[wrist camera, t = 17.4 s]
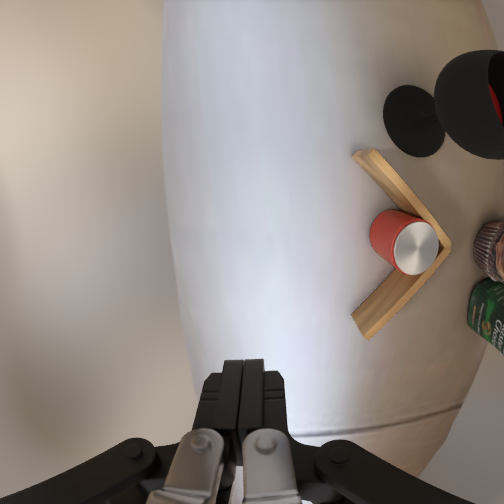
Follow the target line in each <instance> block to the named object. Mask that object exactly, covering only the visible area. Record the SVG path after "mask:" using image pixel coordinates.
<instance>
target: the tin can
mask: <svg viewBox="0 0 504 504" xmlns="http://www.w3.org/2000/svg"><path fill="white" fill-rule="evenodd" d="M370 242H371V245H372V247H373V249H374V250H375V251H376V252H377V253H378V254H379V255H380V256H381V257H383V258H384V259H385V260H386V261H388V262H389V263H390V264H391V265H392V266H394V267H395V268H396V269H397V270H399V271H400V272H401V273H403V274H406V275H417V274H420V273H422V272H424V271H426V270H427V269H428V268H429V267H430V266H431V265H432V264H433V262H434V260H435V258H436V256H437V253H438V248H439V241H438V236H437V233H436V231H435V229H434V228H433V226H432V225H431V224H430V223H429V222H427V221H425V220H423V219H420V218H417V217H415V216H412V215H409V214H407V213H404V212H401V211H398V210H386V211H384V212H382V213H381V214H379V215H378V216H377V217H376V219H375V220H374V222H373V223H372V226H371V229H370Z"/></svg>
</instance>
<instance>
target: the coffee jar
mask: <svg viewBox="0 0 504 504" xmlns="http://www.w3.org/2000/svg"><path fill="white" fill-rule="evenodd" d="M468 324H469V326H470V327H471V328H472V329H473V330H474V331H475V332H476V333H477V334H479V335H480V336H482V337H483V338H484V339H486V340H487V341H488V342H490V343H491V344H492V345H493V346H494V347H496V348H497V349H498V350H499V351H500V352H501V353H502V354H503V355H504V284H503V283H502V282H499V281H498V282H497V281H494V280H492V279H491V278H489V279H486V280H484V281H482V282H480V283H479V284H478V285H477V286H476V287H475V288H474V290H473V292H472V295H471V299H470V305H469V312H468Z"/></svg>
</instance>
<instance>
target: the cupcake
mask: <svg viewBox="0 0 504 504" xmlns="http://www.w3.org/2000/svg"><path fill="white" fill-rule="evenodd" d="M474 258H475V260H476V262H477V264H478V265H479V266H480V267H481V268H482V269H483V270H484V271H485V272H486V273H487V274H488V275H489V276H490V278H491V279H492V280H494V281H497V282H498V281H499V282H500V281H501V282H503V280H504V222H488V223H486V224H484V225H483V227H482V228H481V229H480V230H479V232H478V233H477V236H476V239H475V242H474Z"/></svg>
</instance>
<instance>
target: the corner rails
mask: <svg viewBox="0 0 504 504" xmlns="http://www.w3.org/2000/svg"><path fill="white" fill-rule="evenodd" d="M352 158H353V159H354V160H355V161H356V162H357V163H358V164H359V165H360V166H361V167H362V168H363V169H364V170H365V171H366V172H367V173H368V174H369V175H370V176H371V177H372V179H373V180H374V181H375V182H376V183H377V184H378V185H379V186H380V187H381V188H382V189H383V190H384V191H385V193H386V194H387V195H388V196H389V197H390V198H391V199H392V200H393V201H394V203H395V204H396V205H397V206H398V207H399V208H400V209H401V211H402V212H404V213H407V214H409V215H412V216H415V217H417V218H420V219H423V220H425V221H427V222H429V223H430V224H431V225H432V226H433V228H434V229H435V231H436V233H437V236H438V241H439V248H438V253H437V256H436V258H435V260H434V262H433V264H432V265H431V266H430V267H429V268H428V269H427V270H426V271H424V272H422V273H420V274H417V275H406V274H403V273H401V272H400V271H399V270H397V269H395V270H394V271H393V272H392V273H391V274H390V275H389V276H388V277H387V278H386V279H385V281H384V282H383V283H382V284H381V285H380V286H379V287H378V288H377V289H376V290H375V291H374V292H373V293H372V294H371V295H370V296H369V297H368V298H367V299H366V300H365V301H364V302H363V303H362V304H361V305H360V306H359V307H358V308H357V309H356V310H355V311H354V312H353V313H352V314H351V316H352V317H353V319H354V321H355V323H356V325H357V326H358V328H359V330H360V332H361V334H362V336H363V337H364V338H365V339H366V340H369V339H371V338H372V337H373V336H374V335H375V334H376V333H377V332H378V331H379V330H380V329H381V328H382V327H383V326H384V325H385V324H386V323H387V322H388V321H389V320H390V319H391V318H392V317H393V316H394V315H395V314H396V313H397V312H398V311H399V310H400V309H401V308H402V307H403V306H404V305H405V304H406V303H407V302H408V300H409V299H410V298H411V297H412V296H413V295H414V294H415V293H416V292H417V291H418V290H419V288H420V287H421V286H422V285H423V284H424V283H425V282H426V281H427V279H428V278H429V277H430V276H431V275H432V274H433V272H434V271H435V270H436V269H437V268H438V266H439V265H440V264H441V263H442V262H443V260H444V259H445V258H446V257H447V255H448V254H449V253H450V252H451V249H450V246H451V245H452V243H451V242H450V240H449V239H448V237H447V236H446V234H445V233H444V232H443V230H442V229H441V227H440V226H439V225H438V223H437V222H436V221H435V219H434V218H433V217H432V215H431V214H430V213H429V211H428V210H427V209H426V207H425V206H424V205H423V204H422V202H421V201H420V200H419V199H418V197H417V196H416V195H415V194H414V192H413V191H412V190H411V189H410V188H409V186H408V185H407V184H406V183H405V182H404V181H403V179H402V178H401V177H400V176H399V175H398V174H397V173H396V171H395V170H394V169H393V168H392V167H391V166H390V165H389V164H388V163H387V161H386V160H385V159H384V158H383V157H382V156H381V155H380V154H379V153H378V152H377V151H376V150H375V149H374V148H372V149H366V150H359V151H356V152H355V154H354V155H353V156H352Z"/></svg>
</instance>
